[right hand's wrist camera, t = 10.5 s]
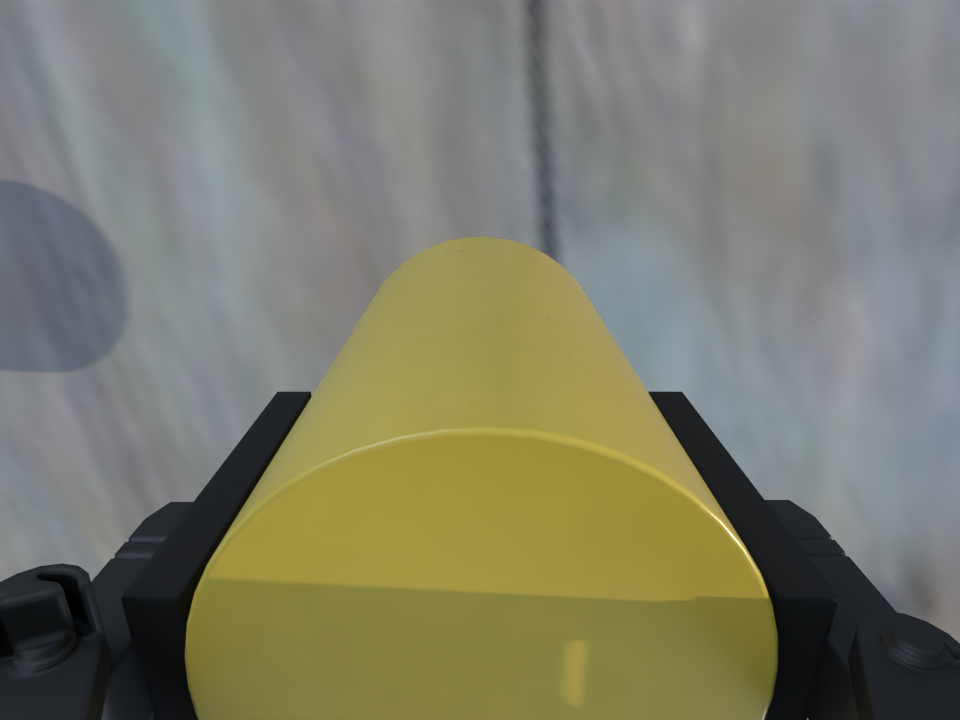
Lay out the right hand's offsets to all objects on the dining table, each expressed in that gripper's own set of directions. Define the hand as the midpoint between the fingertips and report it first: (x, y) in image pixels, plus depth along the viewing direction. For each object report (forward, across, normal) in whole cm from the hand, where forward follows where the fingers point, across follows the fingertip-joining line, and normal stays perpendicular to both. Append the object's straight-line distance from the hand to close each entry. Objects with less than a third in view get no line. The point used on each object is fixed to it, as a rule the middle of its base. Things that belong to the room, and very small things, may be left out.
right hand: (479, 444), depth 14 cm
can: (+6, 0, 0) cm, 6 cm away
